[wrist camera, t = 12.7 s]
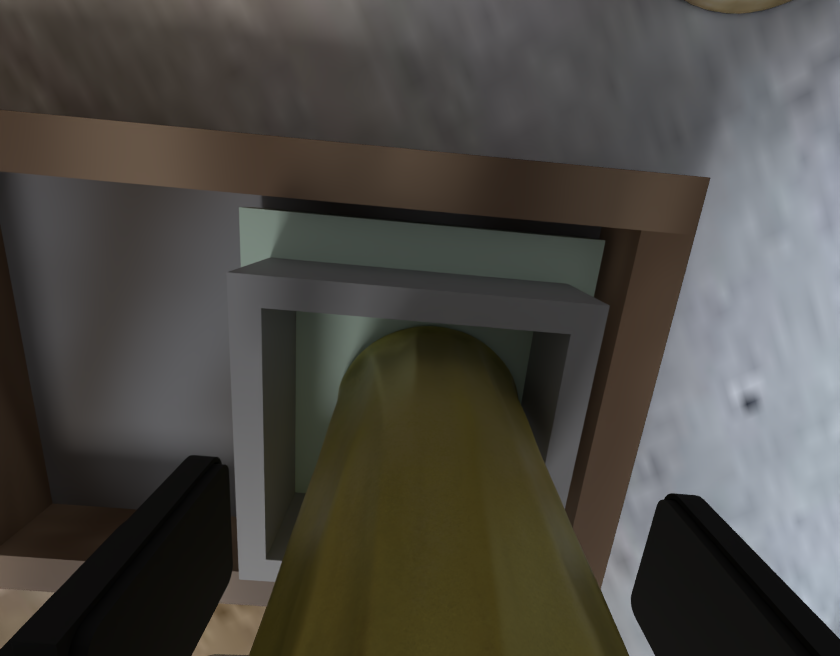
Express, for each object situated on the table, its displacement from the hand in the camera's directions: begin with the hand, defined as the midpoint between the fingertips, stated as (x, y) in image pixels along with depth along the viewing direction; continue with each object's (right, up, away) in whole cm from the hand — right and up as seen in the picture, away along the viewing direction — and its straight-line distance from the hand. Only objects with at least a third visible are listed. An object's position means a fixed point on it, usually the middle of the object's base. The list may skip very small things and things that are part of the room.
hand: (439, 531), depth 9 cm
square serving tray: (-1, +2, +7) cm, 7 cm away
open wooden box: (-5, +3, +7) cm, 9 cm away
